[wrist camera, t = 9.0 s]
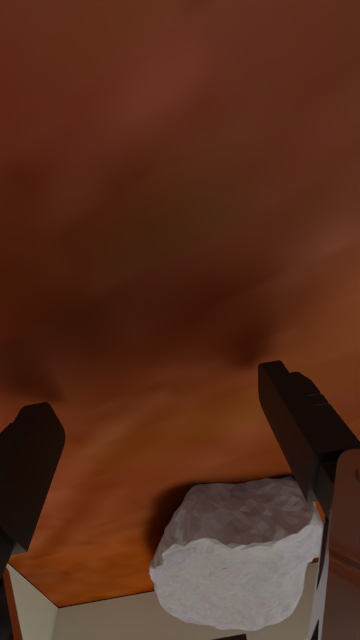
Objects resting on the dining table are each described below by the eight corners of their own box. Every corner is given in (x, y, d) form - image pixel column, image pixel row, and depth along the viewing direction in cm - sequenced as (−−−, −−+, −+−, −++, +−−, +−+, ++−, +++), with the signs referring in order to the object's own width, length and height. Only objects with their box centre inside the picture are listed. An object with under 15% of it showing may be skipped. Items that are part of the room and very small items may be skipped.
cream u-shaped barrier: (-108, 481, 13) (-209, 596, 9) (419, 391, 13) (517, 468, 9) (51, 614, 23) (32, 693, 19) (346, 561, 23) (381, 628, 20)
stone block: (158, 539, 22) (276, 557, 21) (146, 621, 18) (293, 648, 17) (159, 446, 17) (314, 465, 16) (141, 530, 13) (352, 562, 12)
